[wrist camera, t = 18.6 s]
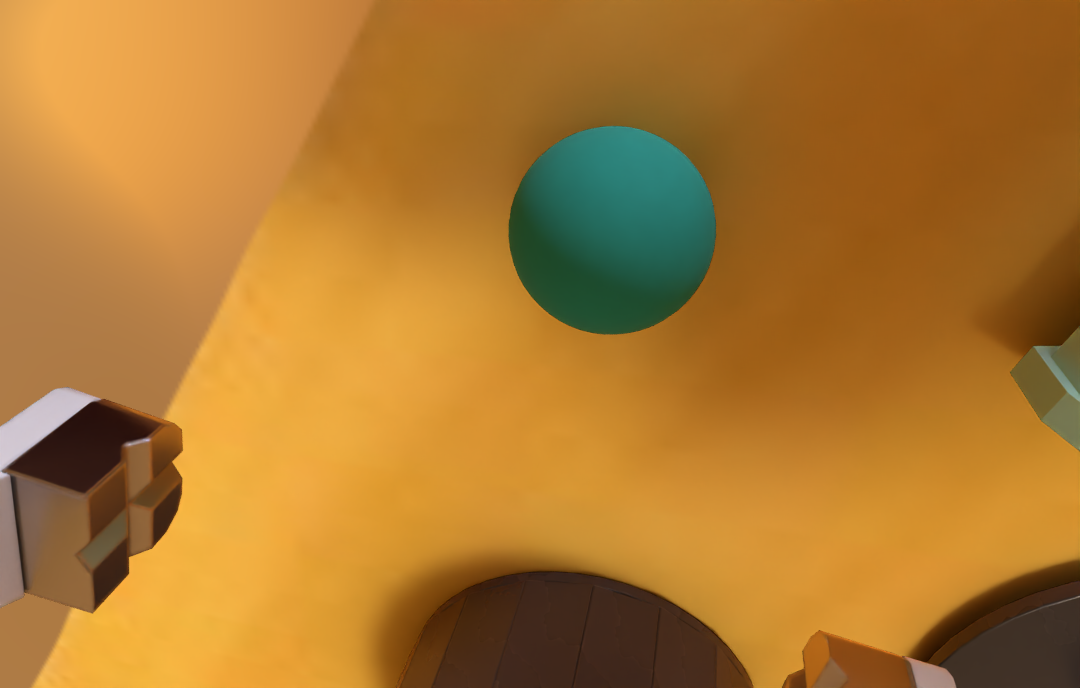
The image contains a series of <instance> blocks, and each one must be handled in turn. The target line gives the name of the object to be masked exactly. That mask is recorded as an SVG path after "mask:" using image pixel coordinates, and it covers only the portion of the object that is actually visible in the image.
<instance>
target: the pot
mask: <svg viewBox="0 0 1080 688" xmlns="http://www.w3.org/2000/svg"><path fill="white" fill-rule="evenodd" d="M396 688H753V685H752V683H751V681H750V679H749V678H748V676H747V674H746V672H745V670H744V668H743V666H742V665H741V664H740V662H739V661H738V660H737V658H736V657H735V656H734V654H733V653H732V652H731V650H730V649H729V648H728V647H727V646H726V645H725V644H724V643H723V642H722V641H721V640H720V639H719V638H718V637H717V636H716V635H715V634H714V633H713V632H712V631H711V630H709V629H708V628H707V627H706V626H704V625H703V624H702V623H701V622H699V621H698V620H697V619H696V618H694V617H692V616H691V615H689V614H688V613H686V612H685V611H683V610H681V609H680V608H678V607H677V606H675V605H673V604H671V603H669V602H667V601H665V600H663V599H661V598H659V597H657V596H655V595H653V594H651V593H648V592H646V591H643V590H640V589H638V588H635V587H633V586H630V585H627V584H623V583H620V582H616V581H613V580H609V579H605V578H601V577H595V576H589V575H584V574H577V573H564V572H529V573H522V574H514V575H507V576H503V577H499V578H496V579H492V580H488V581H485V582H483V583H480V584H478V585H475V586H473V587H470V588H468V589H466V590H464V591H463V592H461V593H459V594H458V595H456V596H454V597H452V598H451V599H450V600H449V601H447V602H446V603H445V604H444V605H442V606H441V607H440V608H439V609H438V610H437V611H436V612H435V613H434V614H433V616H432V617H431V618H430V619H429V620H428V621H427V623H426V625H425V626H424V628H423V630H422V632H421V633H420V635H419V638H418V640H417V642H416V644H415V646H414V648H413V650H412V652H411V654H410V656H409V658H408V660H407V662H406V664H405V667H404V669H403V671H402V674H401V676H400V678H399V681H398V683H397V685H396Z"/></svg>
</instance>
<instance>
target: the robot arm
mask: <svg viewBox="0 0 1080 688" xmlns="http://www.w3.org/2000/svg"><path fill="white" fill-rule="evenodd" d="M182 451H183V444H182V429H181V428H179V427H178V426H177V425H176V424H175V423H172V422H169V421H166V420H163V419H160V418H157V417H155V416H152V415H149V414H146V413H143V412H140V411H137V410H134V409H132V408H129V407H126V406H123V405H120V404H117V403H114V402H111V401H109V400H106V399H99V398H97V397H94V396H91V395H89V394H86V393H83V392H80V391H77V390H75V389H72V388H69V387H66V388H59V389H54V390H52V391H51V392H49V393H48V394H47V395H45V396H44V397H43V398H41V399H39V400H38V401H36V402H35V403H34V404H33V405H31V406H29V407H28V408H26V409H25V410H24V411H22V412H21V413H19V414H18V415H16V416H15V417H13V418H12V419H11V420H9V421H8V422H6V423H5V424H3V425H2V426H1V427H0V608H2V607H4V606H6V605H8V604H10V603H12V602H14V601H16V600H19V599H21V598H23V597H24V595H25V594H24V592H25V593H28V594H31V595H34V596H38V597H41V598H44V599H48V600H51V601H54V602H57V603H61V604H64V605H67V606H70V607H73V608H77V609H80V610H83V611H87V612H90V613H93V612H94V611H95V610H96V609H97V608H98V607H99V606H100V605H101V604H102V603H103V602H104V600H105V599H106V598H107V597H108V596H109V595H110V594H111V593H112V592H113V591H114V590H115V588H116V587H117V586H118V585H119V584H120V583H121V582H122V581H123V580H124V579H125V578H126V576H127V575H128V574H129V557H130V556H133V555H136V554H138V553H141V552H144V551H146V550H149V549H152V548H153V547H154V545H155V544H156V543H157V542H158V541H159V540H160V539H161V537H162V536H163V535H164V534H165V533H166V531H167V530H168V528H169V526H170V524H171V522H172V520H173V518H174V516H175V515H176V513H177V511H178V507H179V503H180V499H181V495H182V477H181V475H180V474H179V472H178V471H177V469H176V467H175V466H174V464H173V463H172V461H173V460H174V459H175V458H176V457H177V456H178V455H179V454H180V453H181V452H182ZM802 652H803V662H804V669H802V670H800V671H797V672H795V673H793V674H790V675H788V677H787V679H786V680H785V682H784V684H783V686H782V688H956V685H955V682H954V679H953V677H952V676H951V674H950V673H949V672H948V671H947V670H946V669H945V668H941V667H938V666H935V665H931V664H928V663H925V662H922V661H918V660H915V659H912V658H908V657H905V656H902V657H901V656H899V655H897V654H894V653H890V652H887V651H884V650H881V649H878V648H874V647H871V646H868V645H865V644H862V643H858V642H855V641H852V640H849V639H846V638H842V637H839V636H836V635H833V634H830V633H826V632H823V631H820V630H819V631H818V632H816V633H815V634H814V635H813V636H811V638H810V639H809V641H808V643H807V644H806V646H805V647H804V649H803V651H802Z"/></svg>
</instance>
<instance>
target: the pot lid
mask: <svg viewBox="0 0 1080 688" xmlns="http://www.w3.org/2000/svg"><path fill="white" fill-rule="evenodd" d="M927 663H928V664H931V665H935V666H938V667H941V668H945V669H946V670H947V671H948V672H949V673H950V674H951V676H952V677H953V679H954V682H955V685H956V688H1080V581H1075V582H1070V583H1067V584H1064V585H1060V586H1057V587H1053V588H1050V589H1047V590H1043V591H1040V592H1037V593H1034V594H1032V595H1029V596H1027V597H1024V598H1022V599H1019V600H1017V601H1014V602H1012V603H1009V604H1007V605H1005V606H1003V607H1001V608H999V609H997V610H995V611H993V612H991V613H989V614H987V615H985V616H984V617H982V618H980V619H978V620H976V621H975V622H973V623H972V624H971V625H969V626H968V627H966V628H965V629H963V630H962V631H960V632H959V633H957V634H956V635H954V636H953V637H952V638H951V639H950V640H949V641H948V642H946V643H945V644H944V645H943V646H942V647H941V648H940V649H939V650H937V651H936V652H935V653H934V654H933V655H932V657H931V658H930V659H929V660H928V661H927Z"/></svg>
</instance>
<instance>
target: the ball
mask: <svg viewBox="0 0 1080 688" xmlns="http://www.w3.org/2000/svg"><path fill="white" fill-rule="evenodd" d="M715 240H716V220H715V213H714V206H713V202H712V199H711V195H710V192H709V190H708V188H707V186H706V183H705V181H704V179H703V178H702V176H701V175H700V173H699V171H698V170H697V168H696V167H695V166H694V165H693V164H692V162H691V161H690V160H689V159H688V158H687V157H686V156H685V155H684V154H683V153H682V152H681V151H680V150H679V149H678V148H676V147H675V146H674V145H672V144H671V143H669V142H668V141H666V140H664V139H663V138H661V137H659V136H657V135H655V134H652V133H649V132H647V131H644V130H640V129H636V128H631V127H623V126H604V127H598V128H592V129H587V130H584V131H581V132H578V133H575V134H572V135H570V136H568V137H566V138H564V139H562V140H561V141H559V142H558V143H556V144H555V145H553V146H552V147H550V148H549V149H548V150H547V151H546V152H545V153H543V154H542V155H541V156H540V157H539V158H538V159H537V160H536V161H535V162H534V164H533V165H532V166H531V167H530V168H529V170H528V171H527V173H526V175H525V176H524V178H523V179H522V181H521V183H520V185H519V188H518V190H517V192H516V194H515V197H514V200H513V204H512V207H511V213H510V219H509V244H510V251H511V255H512V259H513V263H514V266H515V268H516V271H517V274H518V276H519V278H520V280H521V282H522V283H523V285H524V287H525V288H526V290H527V291H528V292H529V294H530V295H531V297H532V298H533V299H534V300H535V301H536V302H537V303H538V304H539V305H540V306H541V307H542V308H543V309H544V310H545V311H547V312H548V313H549V314H550V315H552V316H553V317H555V318H556V319H558V320H559V321H561V322H563V323H565V324H567V325H569V326H571V327H574V328H577V329H579V330H583V331H587V332H591V333H597V334H624V333H631V332H636V331H640V330H643V329H646V328H649V327H651V326H654V325H656V324H657V323H659V322H661V321H663V320H665V319H666V318H668V317H669V316H671V315H672V314H674V313H675V312H676V311H678V310H679V309H680V308H681V307H682V306H683V305H684V304H685V303H686V302H687V301H688V300H689V299H690V298H691V297H692V295H693V294H694V293H695V291H696V290H697V288H698V287H699V285H700V284H701V282H702V281H703V279H704V277H705V275H706V273H707V270H708V268H709V266H710V262H711V259H712V256H713V252H714V246H715Z"/></svg>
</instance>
